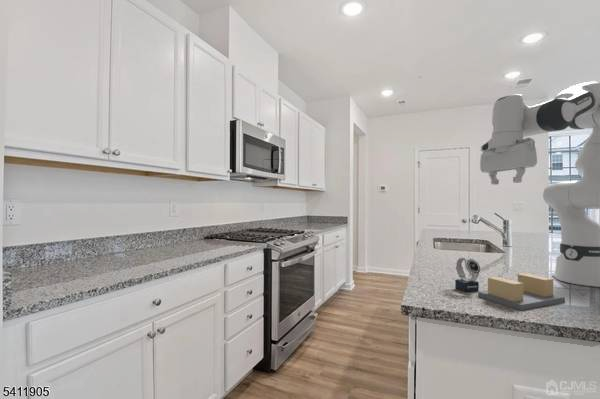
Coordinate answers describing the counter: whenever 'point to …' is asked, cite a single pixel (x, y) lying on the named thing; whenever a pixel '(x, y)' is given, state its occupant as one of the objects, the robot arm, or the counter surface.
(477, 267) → the watch
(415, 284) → the counter surface
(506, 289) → the holder
